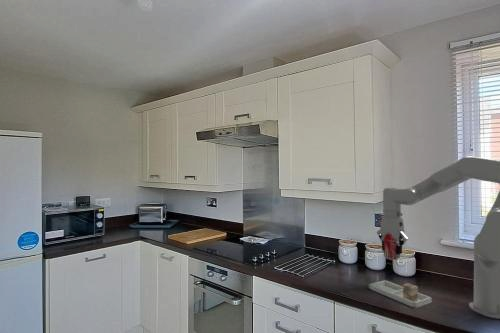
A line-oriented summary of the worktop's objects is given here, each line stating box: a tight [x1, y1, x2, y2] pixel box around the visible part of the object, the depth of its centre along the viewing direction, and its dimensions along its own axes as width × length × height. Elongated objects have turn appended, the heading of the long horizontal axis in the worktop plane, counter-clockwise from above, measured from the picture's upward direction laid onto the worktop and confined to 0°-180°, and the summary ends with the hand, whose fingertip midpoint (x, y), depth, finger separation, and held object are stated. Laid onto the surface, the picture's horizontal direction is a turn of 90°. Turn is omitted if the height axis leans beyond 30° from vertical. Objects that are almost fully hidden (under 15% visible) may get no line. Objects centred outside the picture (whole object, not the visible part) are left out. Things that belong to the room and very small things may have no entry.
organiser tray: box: [368, 279, 433, 309], centre depth 133 cm, size 22×12×2 cm, turn 29°
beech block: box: [402, 283, 419, 302], centre depth 129 cm, size 4×4×6 cm
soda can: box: [383, 233, 401, 261], centre depth 142 cm, size 7×7×12 cm
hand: (391, 251), depth 142 cm, fingers closed on soda can, 7 cm apart
